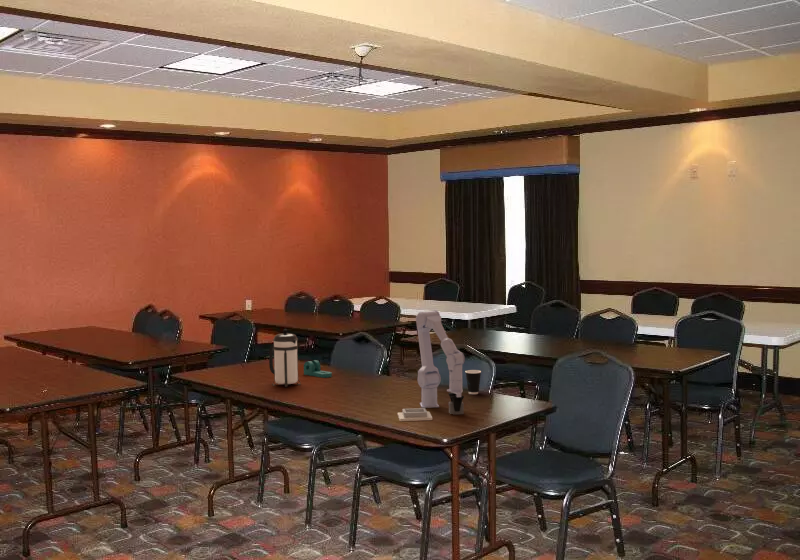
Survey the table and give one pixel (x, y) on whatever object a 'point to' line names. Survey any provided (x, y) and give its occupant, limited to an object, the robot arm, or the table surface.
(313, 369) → the bracket
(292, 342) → the coffee press
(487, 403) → the table surface
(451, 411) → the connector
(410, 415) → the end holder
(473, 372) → the dixie cup
